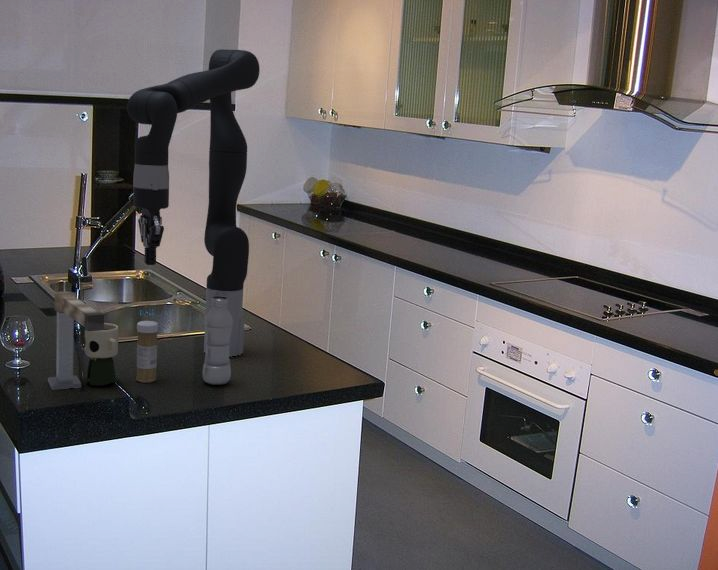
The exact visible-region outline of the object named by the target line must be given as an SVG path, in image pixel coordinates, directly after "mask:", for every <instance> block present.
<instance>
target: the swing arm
mask: <svg viewBox="0 0 718 570" xmlns="http://www.w3.org/2000/svg"><path fill="white" fill-rule="evenodd" d="M53 298H54V307H53V308H54V309H53V311H55V312H57V311H58V312H64V313H65V314H67V315H68V316H70V317H71V318H72V319H74V321H75V322H77V323H78V324H79V325H80V326H83V327H84V331H85V330H87V331H99V330H104V323H105V314H104V313H103V312H101V311H97V310H96V309H94V308H92V307H91V306H89V305H88V304H86V303H85V302H83V301H82V300H80V299H78V298H77V292H74V291H73V292H72V291H57V292H54V297H53Z"/></svg>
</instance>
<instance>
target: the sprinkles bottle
mask: <svg viewBox="0 0 718 570" xmlns="http://www.w3.org/2000/svg"><path fill="white" fill-rule="evenodd" d="M136 331H137V344H136V377H135V379H136V381H138V382H139V383H149V384H150V383H153V382H156V380H157V362H158V331H159V323H158V322H157V321H154V320H141V321H138V322H137V324H136Z"/></svg>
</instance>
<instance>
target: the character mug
mask: <svg viewBox="0 0 718 570" xmlns="http://www.w3.org/2000/svg"><path fill="white" fill-rule="evenodd" d="M84 340H85V345H84V348H83V349H84V350H83V352H84V354H85V356H86V357H89V360H88V364H87V370H86V376H85V377H86V378H85V383H87V384H88V383H89V385H90V386H106V385H108V384H112V383H114V382H116V371H115V370H116V369H115V362H114V359H113V357H115V356H117V355H118V352H119V326H118V325H117V324H114V323H109V322H104V330H99V331H87V330H85V329H84ZM88 380H89V382H88Z"/></svg>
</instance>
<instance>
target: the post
mask: <svg viewBox="0 0 718 570" xmlns="http://www.w3.org/2000/svg"><path fill="white" fill-rule="evenodd" d="M74 321H75V320H74V319H72V318H71V317H70V316H68V315H67V314H65V313H64V312H58V311H56V359H55V360H56V363H55V365H56V376H50V377H47V382H48V384H49V387H50V389H51V390H52V391H59V390H60V389H61V390H70V389H69V388H74V389H82V382H81V380H80V379H79V377H78V375H77V374H76V375H75V374H74V328H75V327H74V326H75V325H74V324H75V323H74Z"/></svg>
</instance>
